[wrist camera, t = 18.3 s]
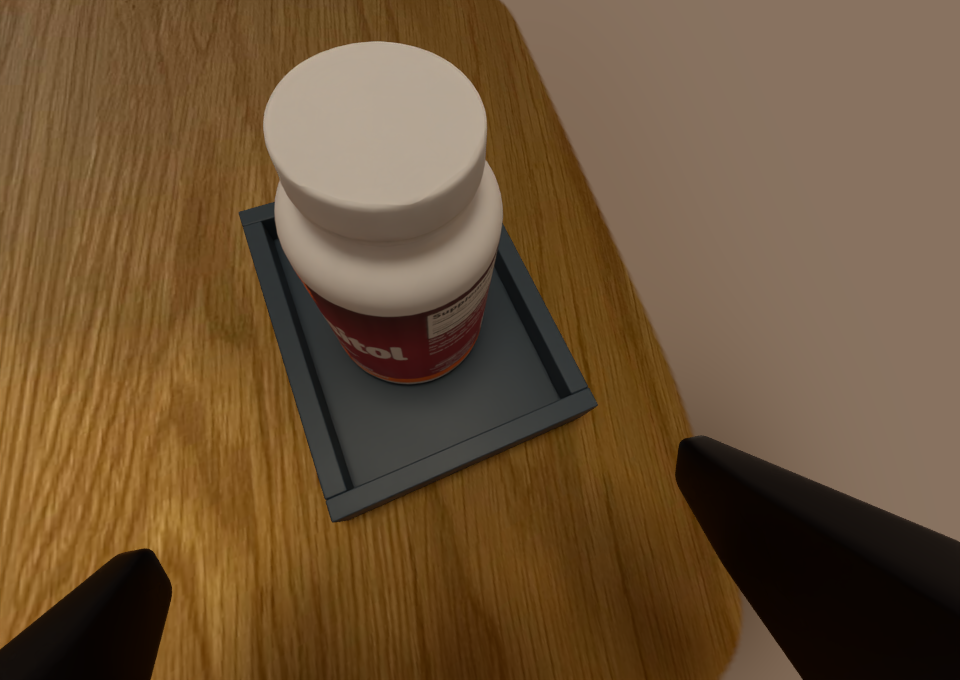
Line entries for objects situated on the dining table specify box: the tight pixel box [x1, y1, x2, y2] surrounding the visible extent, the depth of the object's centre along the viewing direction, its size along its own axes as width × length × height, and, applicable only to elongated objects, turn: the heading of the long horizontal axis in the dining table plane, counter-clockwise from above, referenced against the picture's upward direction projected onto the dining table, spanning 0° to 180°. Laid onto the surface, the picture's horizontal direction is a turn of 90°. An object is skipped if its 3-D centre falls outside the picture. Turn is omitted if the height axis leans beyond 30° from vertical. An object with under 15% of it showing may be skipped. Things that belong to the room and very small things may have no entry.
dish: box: [239, 202, 598, 522], centre depth 19 cm, size 14×11×2 cm
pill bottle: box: [263, 41, 503, 384], centre depth 14 cm, size 6×6×11 cm
